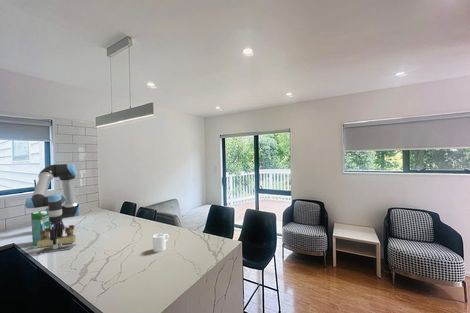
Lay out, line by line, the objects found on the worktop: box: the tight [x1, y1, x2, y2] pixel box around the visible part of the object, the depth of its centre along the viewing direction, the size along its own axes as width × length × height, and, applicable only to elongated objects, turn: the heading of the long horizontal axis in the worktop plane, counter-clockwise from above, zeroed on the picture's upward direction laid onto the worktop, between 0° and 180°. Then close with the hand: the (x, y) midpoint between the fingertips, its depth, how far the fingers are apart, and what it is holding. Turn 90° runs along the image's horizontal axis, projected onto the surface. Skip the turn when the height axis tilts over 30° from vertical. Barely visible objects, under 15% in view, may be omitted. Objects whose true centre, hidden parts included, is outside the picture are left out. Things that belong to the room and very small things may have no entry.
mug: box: [152, 232, 170, 253], centre depth 148 cm, size 8×12×10 cm
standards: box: [40, 224, 76, 249], centre depth 164 cm, size 7×20×13 cm, turn 105°
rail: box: [36, 234, 77, 248], centre depth 156 cm, size 22×4×4 cm, turn 105°
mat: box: [36, 243, 77, 255], centre depth 155 cm, size 9×20×1 cm, turn 105°
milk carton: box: [30, 209, 52, 246], centre depth 170 cm, size 9×9×25 cm
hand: (57, 247), depth 156 cm, fingers closed on rail, 4 cm apart
